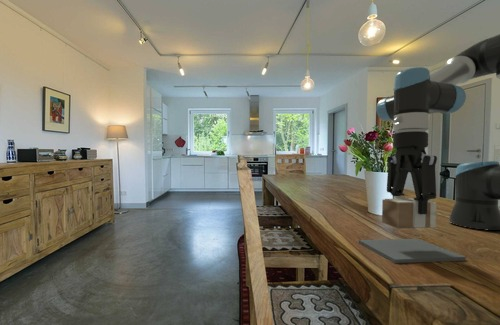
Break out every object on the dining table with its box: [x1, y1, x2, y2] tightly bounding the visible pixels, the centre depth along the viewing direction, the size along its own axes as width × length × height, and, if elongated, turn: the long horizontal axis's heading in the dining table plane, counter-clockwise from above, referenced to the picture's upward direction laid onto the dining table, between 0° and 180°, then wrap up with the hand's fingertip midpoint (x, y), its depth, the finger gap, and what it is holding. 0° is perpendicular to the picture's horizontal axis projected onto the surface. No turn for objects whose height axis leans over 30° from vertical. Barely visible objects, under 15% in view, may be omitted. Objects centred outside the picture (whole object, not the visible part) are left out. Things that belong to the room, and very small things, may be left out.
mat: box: [358, 238, 467, 264], centre depth 64 cm, size 18×14×1 cm
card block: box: [381, 198, 437, 229], centre depth 64 cm, size 6×10×6 cm, turn 98°
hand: (408, 223), depth 64 cm, fingers closed on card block, 6 cm apart
